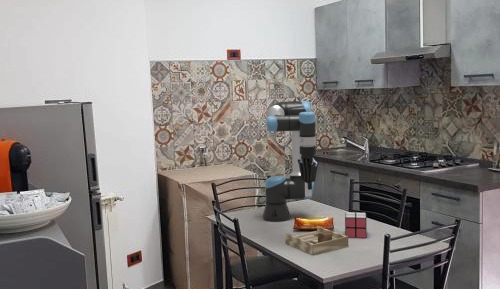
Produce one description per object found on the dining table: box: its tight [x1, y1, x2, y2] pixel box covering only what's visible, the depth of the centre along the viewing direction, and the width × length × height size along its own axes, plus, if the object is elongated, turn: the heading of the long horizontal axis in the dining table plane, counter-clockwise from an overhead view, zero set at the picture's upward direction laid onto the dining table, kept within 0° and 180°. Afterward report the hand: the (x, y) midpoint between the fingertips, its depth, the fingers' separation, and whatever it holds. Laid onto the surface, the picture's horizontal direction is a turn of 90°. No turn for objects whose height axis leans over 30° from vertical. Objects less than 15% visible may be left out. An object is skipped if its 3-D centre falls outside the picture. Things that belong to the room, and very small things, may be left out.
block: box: [318, 231, 332, 243], centre depth 227 cm, size 4×4×4 cm
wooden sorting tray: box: [284, 226, 349, 256], centre depth 232 cm, size 21×20×4 cm
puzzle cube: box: [344, 211, 368, 239], centre depth 245 cm, size 10×10×10 cm
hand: (308, 195), depth 235 cm, fingers closed
